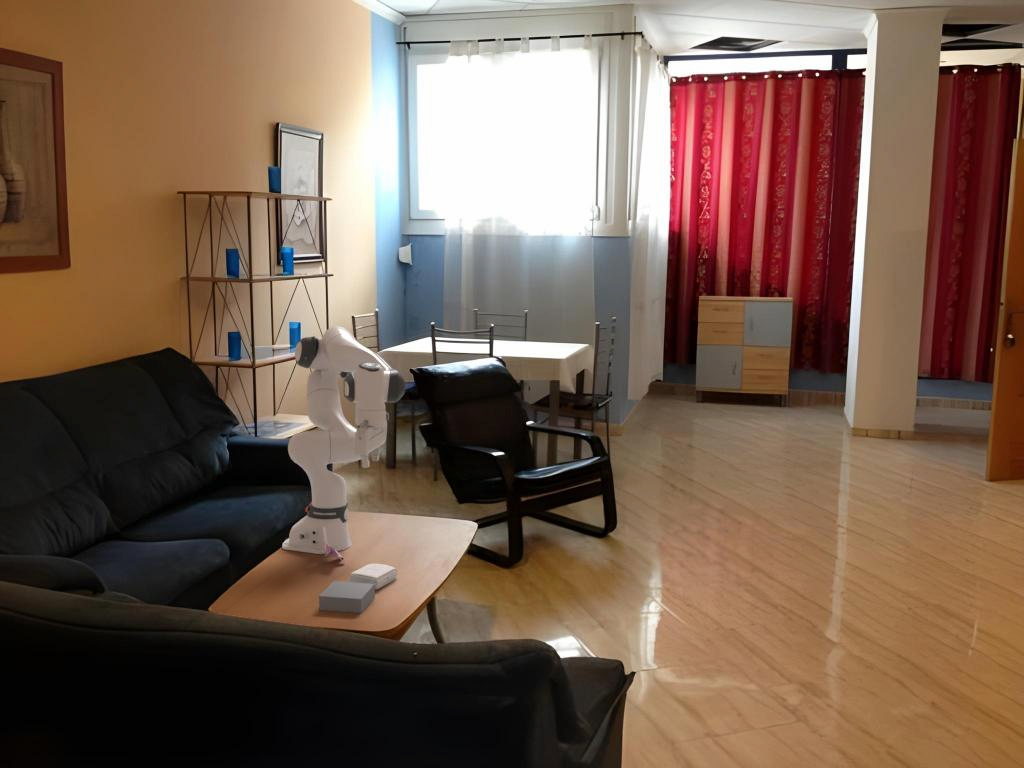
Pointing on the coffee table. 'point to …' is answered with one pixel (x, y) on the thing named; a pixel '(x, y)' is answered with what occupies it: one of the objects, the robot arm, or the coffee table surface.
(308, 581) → the coffee table surface
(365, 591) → the slate block
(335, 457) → the robot arm
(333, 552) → the lily
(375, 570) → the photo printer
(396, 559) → the coffee table surface
